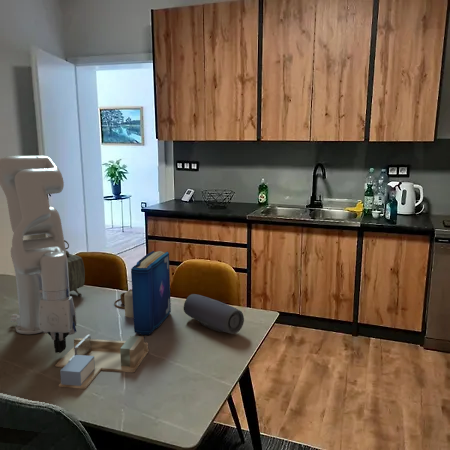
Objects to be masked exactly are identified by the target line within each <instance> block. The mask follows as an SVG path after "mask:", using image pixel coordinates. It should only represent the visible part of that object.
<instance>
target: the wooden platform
mask: <svg viewBox="0 0 450 450" xmlns="http://www.w3.org/2000/svg"><path fill="white" fill-rule="evenodd" d="M84 338H85V337H83V338H82V337H81V338H80V337H75V338H74V339H73V347H72V348H71V349H70V350H69V351H68V352H67V353H66V354H65V355H63V356H62V358H61V359H60V360H58V362H56V363H55V367H56V368H57V367H58V368H63V367H64V366H65V365H66V364H67V363H68V361H69V360H70V359H71V358H72V357H73V356H74V355H75V350H74V347H75V346H76V345H77V344H78V343H79V342H80V341H82V340H83V339H84ZM149 350H150V349H149V343H148V342H145V338H144V336H138V335H135V336H134V335H130V336H129V337H128V338H127V339H126V340H115V339H114V340H113V339H97V338H91V350H90V351H89V352H88V353H87V354H86V356H94V361H95V370H94V371H93V372H92V373H91V374H90V375H89V377H88V378H87V379H86V380H85V381H84V382H83V384H82V385H81V386H76V385H63V384H61V382H60V383H59V384H58V387H60V388H70V389H81V390H82V389H83V390H86V389H87V388H88V387H89V386H90V384H91V383H92V381H94V379H95V378H96V377H97V375H98V374H99V373H100V372H101V371H110V372H121V373H122V372H124V373H135V372H136V371H137V369H138V368H139V366H140V365H141V363H142V362H143V360H144V359H145V357H146V356H147V354H148V352H149Z"/></svg>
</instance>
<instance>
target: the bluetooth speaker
mask: <svg viewBox="0 0 450 450" xmlns="http://www.w3.org/2000/svg"><path fill="white" fill-rule="evenodd" d="M183 311H184V313H185V315H187V316H188V317H190V318H191V319H194V320H195V321H198V322H199V323H201V325H202V326H204V327H206V328H208V329H211V330H212V331H215V332H218V333H222V332H224V333H228V334H230V335H234V334H237V333H238V332H240V331H241V330H242V328H243V327H244V322H245V317H244V314H243V312H242V310H240V309H238V308H237V307H234V306H232V305H229V304H227V303H225V302H221V301H219V300H217V299H213V298H210V297H208V296H204V295H201V294H198V293H197V294H196V293H191V294H189V295H188V296H187V298H186V299H185V301H184V304H183Z"/></svg>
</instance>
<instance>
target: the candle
mask: <svg viewBox="0 0 450 450" xmlns="http://www.w3.org/2000/svg"><path fill="white" fill-rule="evenodd" d="M124 293H125V292H124ZM124 301H125V305H124V307H125V309H124V316H125V317H126V318H129V319H134V316H133V297H132V288H131V289H128V290H126V293H125V294H124Z"/></svg>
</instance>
